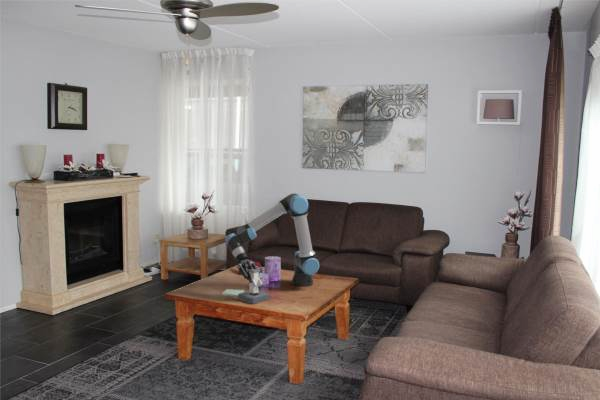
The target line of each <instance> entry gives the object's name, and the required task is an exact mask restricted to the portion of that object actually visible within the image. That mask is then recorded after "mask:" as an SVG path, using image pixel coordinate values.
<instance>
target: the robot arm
mask: <svg viewBox="0 0 600 400" xmlns="http://www.w3.org/2000/svg"><path fill="white" fill-rule="evenodd" d="M308 209H309V201H308V199H307V198H306V197H305V196H304V195H302V194H298V193H290V194H288V195H286V196H285V197H284V198H282V199H280V200H279V201H278V202H277V204H276V205H275V206H273V207H271V208H269V209H268V210H266V211H265V212H263V213H261V214H260V215H258V216H257V217H256V218H254V219H253V220H251V221H249V222H247V223H246V224H244V225H241V226H239V227H238V228H237V231H236V232H237V234H236V233H230V234H228V235H226V236H225V239H224V241H225V243H226V245H227V247H228V249H229V250H230V252H231V254H232V256H233V257H234V258H235V260H236V262H237V264H238V263H239V264H238V265H236V268H237V269H238V271H239V270H240V272H241V273H242V274H241V275H242V277H243V278H244V279H246V280H248V281H249V282H250V283H251V284H252V286H253V287H254V288H255V287H256V286H257V285H256V283H255V281H254V279H253V278H252V277H250V274H249V271H248V269H249V270H252V269H257V267H256V265H255V262H256V261H254V260H252V261H253V262H251V261H250V260H251V259H249V256H248V254H247V252H246V251H245V249H244V247H243V245H245V244H246V243H247V244H248V243H249V242H251V241H252V240H254V239H256V238H257V236H258V235H257V233H256V232H257V231H259V230H261V229H262V228H264V227H265V226H266V225H268V224H269V223H271V222H273V221H274V220H276V219H277V218H279V217H280V216H282V215H284V214H290V218H292V219H293V222H294V227H295V233H296V237H297V243H298V248H299V249H298V251H295V252H294V270H293V271H294V273H293V276H292V277H291V278H292V279H291V285H293V286H298V287H308V286H313V285H314V279H313V276H312V275H314V274H316V273H317V272H318V271H319V269H320V262H319V260H318V259H317V254H316V251H314V250H313V245H312V240H311V234H310V228H309V223H308V218H307V217H308V216H309V215H308V214H309V211H308ZM257 270H258V269H257ZM259 275H260V271H259ZM262 285H263V282H262V281H261V278H260V277H259V286H258V287H261V286H262Z"/></svg>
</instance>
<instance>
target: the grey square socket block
mask: <svg viewBox="0 0 600 400" xmlns="http://www.w3.org/2000/svg"><path fill="white" fill-rule="evenodd" d="M237 300H239V301H243V302H245V303H248V304H252V305H256V304H258V303H262V302H266V301H271V294H270V293H268V292H264V291H260V290H258V292H257V293H250V292H249V290H247V291H244V293H240V294H238V297H237Z"/></svg>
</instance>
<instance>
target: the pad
mask: <svg viewBox="0 0 600 400" xmlns="http://www.w3.org/2000/svg"><path fill="white" fill-rule="evenodd" d="M244 292H245V289H230V288H227V289H225V290H224V291H223V292H222V293H221V297H236V298H238V294H240V293H244Z"/></svg>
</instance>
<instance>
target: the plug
mask: <svg viewBox="0 0 600 400" xmlns="http://www.w3.org/2000/svg"><path fill="white" fill-rule="evenodd" d="M259 272H260V271H259V270H257V269H252V270H249V274H250V277H252V278H253V279H254V281H255V283H256V285H257V286H256V287H255V288H254V287H253V286H252V284H251V283H250V282H249V290H248V291H249V292H250V293H257V292H258V291H259V287H260V286H259V278H260V276H259V275H260V274H259Z"/></svg>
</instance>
